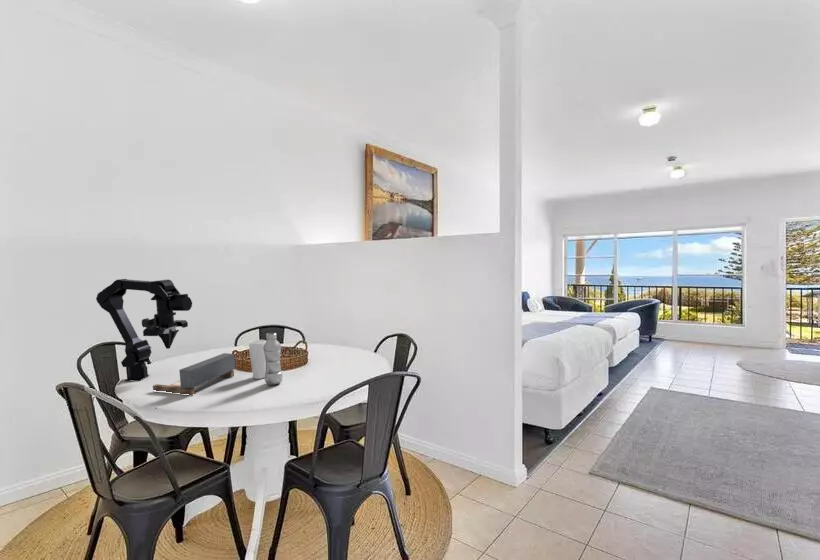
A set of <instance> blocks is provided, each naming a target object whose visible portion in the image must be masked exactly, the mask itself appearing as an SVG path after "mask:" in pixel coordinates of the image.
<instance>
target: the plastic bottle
mask: <svg viewBox="0 0 820 560" xmlns="http://www.w3.org/2000/svg"><path fill="white" fill-rule="evenodd" d="M265 339H266V342H265V344H264V347H263V350H264V355H265V361H266V362H265V363H266V369H265V378H264V383H265V384H266V385H268V386H273V385H274V386H275V385H278V384H280V383H282V381H283V372H282V368H281V352H282V351H281V350H282V345H281V343H280V341H278V339H277V333H276V332H267V333H265Z"/></svg>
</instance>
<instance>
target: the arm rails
mask: <svg viewBox="0 0 820 560" xmlns="http://www.w3.org/2000/svg"><path fill="white" fill-rule="evenodd" d="M219 377H222V378H223V377H224V378H233V377H235V369H234V370H232V371H230V372H227V373H225V374H223V375H221V376H219ZM153 390H156V391H166V392H172V393H180V394H189V395H193V394H195V395H196V392H195V391H196V390H195V387H193V388H184V387H181V386H170V384H168V385H167V384H157V383H156V384H153V385H152V391H153ZM189 395H188V396H189ZM193 396H194V395H193Z"/></svg>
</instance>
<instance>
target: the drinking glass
mask: <svg viewBox="0 0 820 560" xmlns="http://www.w3.org/2000/svg"><path fill="white" fill-rule="evenodd" d="M266 341H267V339H266V340H265V339H255V340H251V341H249V342H248V349H249V357H250V365H251V371H252V372H251V373H252V378H253V379H254V380H261V379H262V380H263V379H265V369H266V363H265V362H266V361H265V355H264V350H263V347H264V344H265V342H266Z"/></svg>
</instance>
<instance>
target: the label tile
mask: <svg viewBox="0 0 820 560" xmlns="http://www.w3.org/2000/svg"><path fill="white" fill-rule="evenodd" d="M169 385H170V386H181V384H180V380H179V381H178V380H177V381H175V382H173V383H171V384H169Z"/></svg>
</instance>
